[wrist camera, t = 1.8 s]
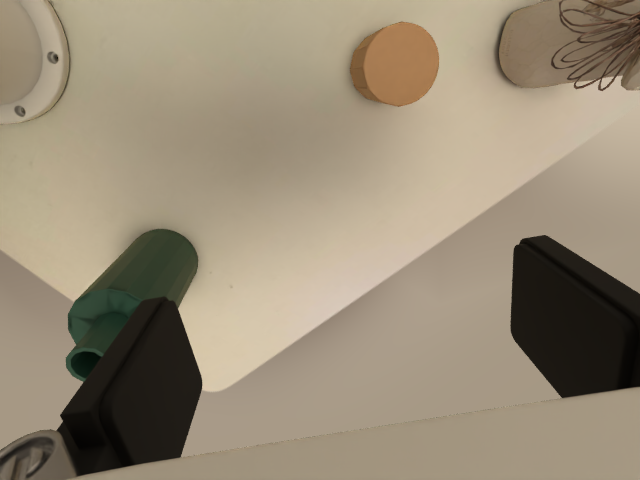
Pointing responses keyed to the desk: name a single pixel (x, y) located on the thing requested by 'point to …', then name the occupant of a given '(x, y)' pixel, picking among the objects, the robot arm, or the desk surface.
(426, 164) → the desk surface
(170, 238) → the bottle
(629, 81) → the figurine
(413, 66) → the grooved wooden cylinder
